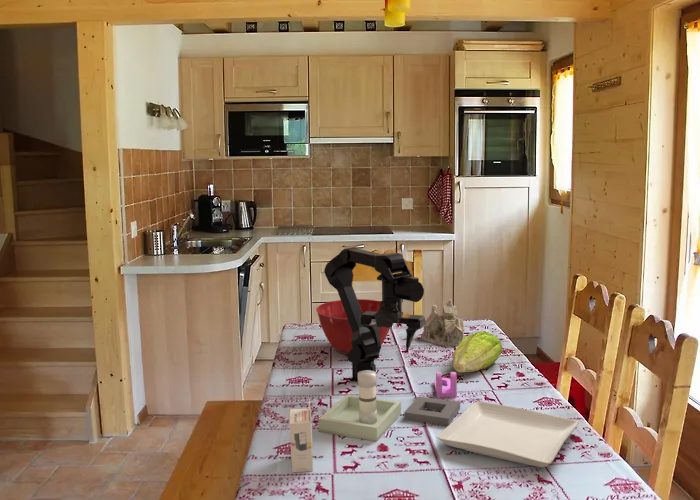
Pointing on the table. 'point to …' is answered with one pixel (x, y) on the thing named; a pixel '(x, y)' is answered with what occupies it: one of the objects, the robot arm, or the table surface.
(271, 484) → the table surface
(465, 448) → the square plate
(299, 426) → the ink box
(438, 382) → the bracket
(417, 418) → the fuse holder
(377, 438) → the tray
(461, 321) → the ceramic cottage
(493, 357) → the lettuce
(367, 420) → the cream salt shaker
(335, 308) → the mixing bowl
